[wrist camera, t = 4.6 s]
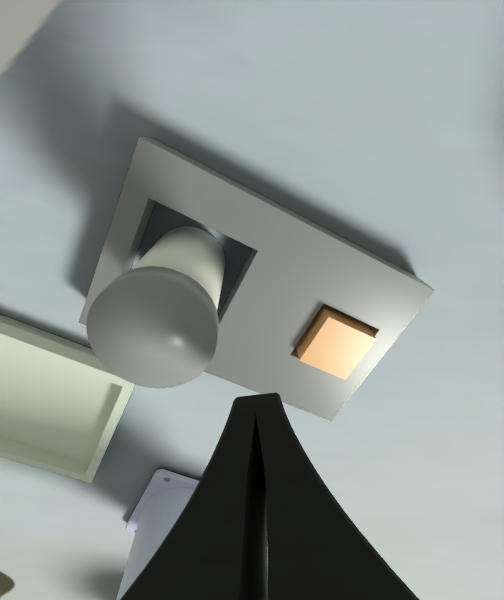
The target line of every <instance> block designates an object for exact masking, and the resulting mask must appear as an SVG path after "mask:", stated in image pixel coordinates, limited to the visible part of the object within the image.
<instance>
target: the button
mask: <svg viewBox="0 0 504 600" xmlns="http://www.w3.org/2000/svg"><path fill="white" fill-rule="evenodd" d="M375 341H376V337H375V336H374V334H373V333H372V331H371V330H370V328H369V327H368V325H367V324H366V323H364V322H362V321H360V320H358V319H356V318H354V317H352V316H349V315H347V314H345V313H343V312H341V311H339V310H337V309H335V308H332V307H330V306H328V305H326V304H323V305H322V307H321V308H320V310H319V311H318V313H317V314H316V316H315V318H314V319H313V321H312V322H311V324H310V325H309V327H308V328H307V330H306V331H305V333H304V334H303V336H302V337H301V339H300V340H299V342H298V344H297V345H296V349H297V353H298V357H299V361H301V362H304V363H306V364H308V365H311V366H313V367H316V368H318V369H320V370H323V371H325V372H327V373H330V374H332V375H334V376H337V377H339V378H342V379H344V380H346V379H347V377H348V376H349V375H350V373H351V372H352V371H353V370H354V368H355V367H356V366H357V364H358V363H359V362H360V360H361V359H362V358H363V356H364V355H365V354H366V353H367V351H368V350H369V349H370V347H371V346H372V345H373V343H374V342H375Z"/></svg>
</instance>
